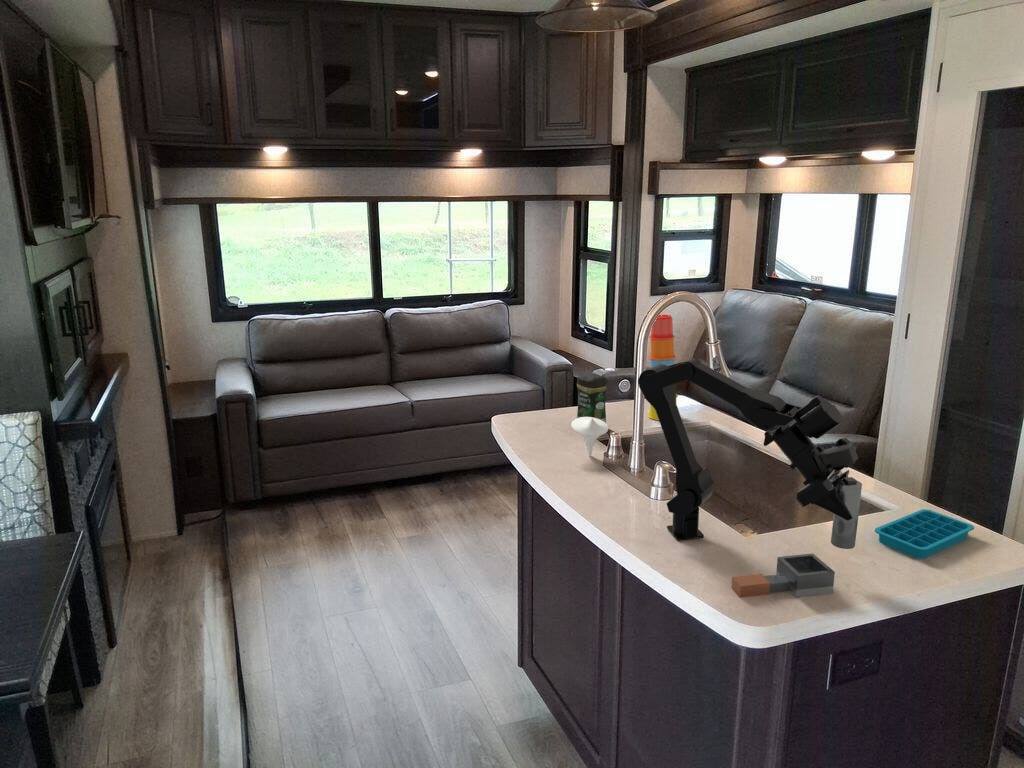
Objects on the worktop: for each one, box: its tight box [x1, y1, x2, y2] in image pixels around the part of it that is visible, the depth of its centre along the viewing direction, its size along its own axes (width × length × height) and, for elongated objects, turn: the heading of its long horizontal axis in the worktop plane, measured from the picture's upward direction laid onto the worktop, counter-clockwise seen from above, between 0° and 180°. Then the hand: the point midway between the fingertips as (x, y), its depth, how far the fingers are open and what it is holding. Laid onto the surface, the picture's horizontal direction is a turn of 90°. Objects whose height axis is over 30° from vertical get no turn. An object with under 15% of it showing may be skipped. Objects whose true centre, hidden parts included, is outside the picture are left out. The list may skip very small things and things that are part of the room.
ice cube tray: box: [874, 508, 975, 559], centre depth 163 cm, size 12×20×3 cm, turn 121°
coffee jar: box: [576, 371, 608, 424], centre depth 240 cm, size 10×8×19 cm
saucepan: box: [731, 552, 836, 598], centre depth 145 cm, size 8×18×4 cm, turn 99°
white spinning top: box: [571, 417, 609, 457], centre depth 217 cm, size 10×11×12 cm
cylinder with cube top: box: [830, 476, 863, 550], centre depth 146 cm, size 4×4×14 cm
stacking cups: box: [647, 314, 679, 421], centre depth 249 cm, size 10×10×35 cm
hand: (853, 515), depth 146 cm, fingers closed on cylinder with cube top, 4 cm apart
